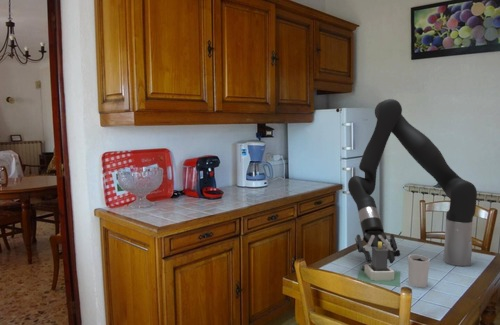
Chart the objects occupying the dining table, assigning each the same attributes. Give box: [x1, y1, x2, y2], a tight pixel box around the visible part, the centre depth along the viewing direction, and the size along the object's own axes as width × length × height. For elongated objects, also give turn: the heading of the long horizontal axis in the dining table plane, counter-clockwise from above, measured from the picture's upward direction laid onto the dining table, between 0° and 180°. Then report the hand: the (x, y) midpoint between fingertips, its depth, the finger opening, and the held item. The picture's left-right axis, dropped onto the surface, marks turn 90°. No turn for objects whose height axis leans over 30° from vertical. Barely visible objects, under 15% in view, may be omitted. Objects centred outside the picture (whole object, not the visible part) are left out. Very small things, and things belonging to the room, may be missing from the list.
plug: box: [370, 241, 388, 271], centre depth 137 cm, size 4×4×12 cm
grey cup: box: [407, 254, 431, 288], centre depth 131 cm, size 7×7×10 cm
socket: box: [364, 263, 395, 281], centre depth 138 cm, size 8×8×3 cm
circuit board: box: [356, 265, 401, 288], centre depth 138 cm, size 14×14×2 cm
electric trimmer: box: [387, 249, 401, 260], centre depth 158 cm, size 4×15×3 cm, turn 126°
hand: (381, 262), depth 136 cm, fingers open, 7 cm apart
